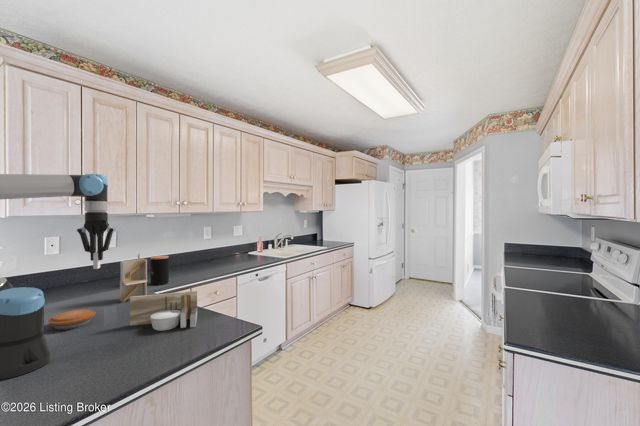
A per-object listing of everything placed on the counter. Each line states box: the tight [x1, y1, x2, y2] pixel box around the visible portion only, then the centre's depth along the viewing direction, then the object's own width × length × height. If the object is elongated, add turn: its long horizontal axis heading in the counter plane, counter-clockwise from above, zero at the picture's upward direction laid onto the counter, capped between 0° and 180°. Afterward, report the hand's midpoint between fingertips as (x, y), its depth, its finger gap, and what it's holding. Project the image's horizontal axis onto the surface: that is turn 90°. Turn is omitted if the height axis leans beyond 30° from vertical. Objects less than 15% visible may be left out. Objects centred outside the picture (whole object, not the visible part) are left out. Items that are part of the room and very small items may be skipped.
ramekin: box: [150, 310, 181, 332], centre depth 122 cm, size 11×11×5 cm
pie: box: [47, 308, 96, 331], centre depth 124 cm, size 16×16×5 cm
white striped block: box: [189, 307, 198, 328], centre depth 125 cm, size 10×2×5 cm, turn 20°
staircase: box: [119, 254, 148, 303], centre depth 159 cm, size 8×12×26 cm
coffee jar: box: [149, 255, 170, 286], centre depth 195 cm, size 11×11×18 cm
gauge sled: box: [180, 294, 189, 329], centre depth 124 cm, size 10×2×11 cm, turn 19°
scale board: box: [129, 290, 198, 327], centre depth 127 cm, size 1×26×12 cm, turn 110°
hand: (96, 268), depth 122 cm, fingers closed
